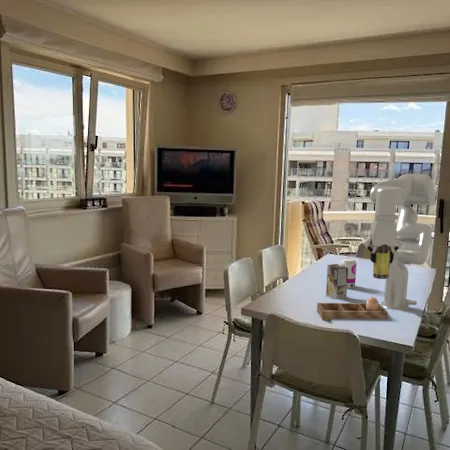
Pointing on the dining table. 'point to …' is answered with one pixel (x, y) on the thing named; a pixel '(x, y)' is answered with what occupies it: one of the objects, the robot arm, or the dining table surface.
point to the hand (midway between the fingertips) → (381, 261)
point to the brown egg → (372, 304)
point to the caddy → (349, 311)
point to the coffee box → (336, 281)
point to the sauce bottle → (382, 262)
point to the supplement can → (350, 271)
